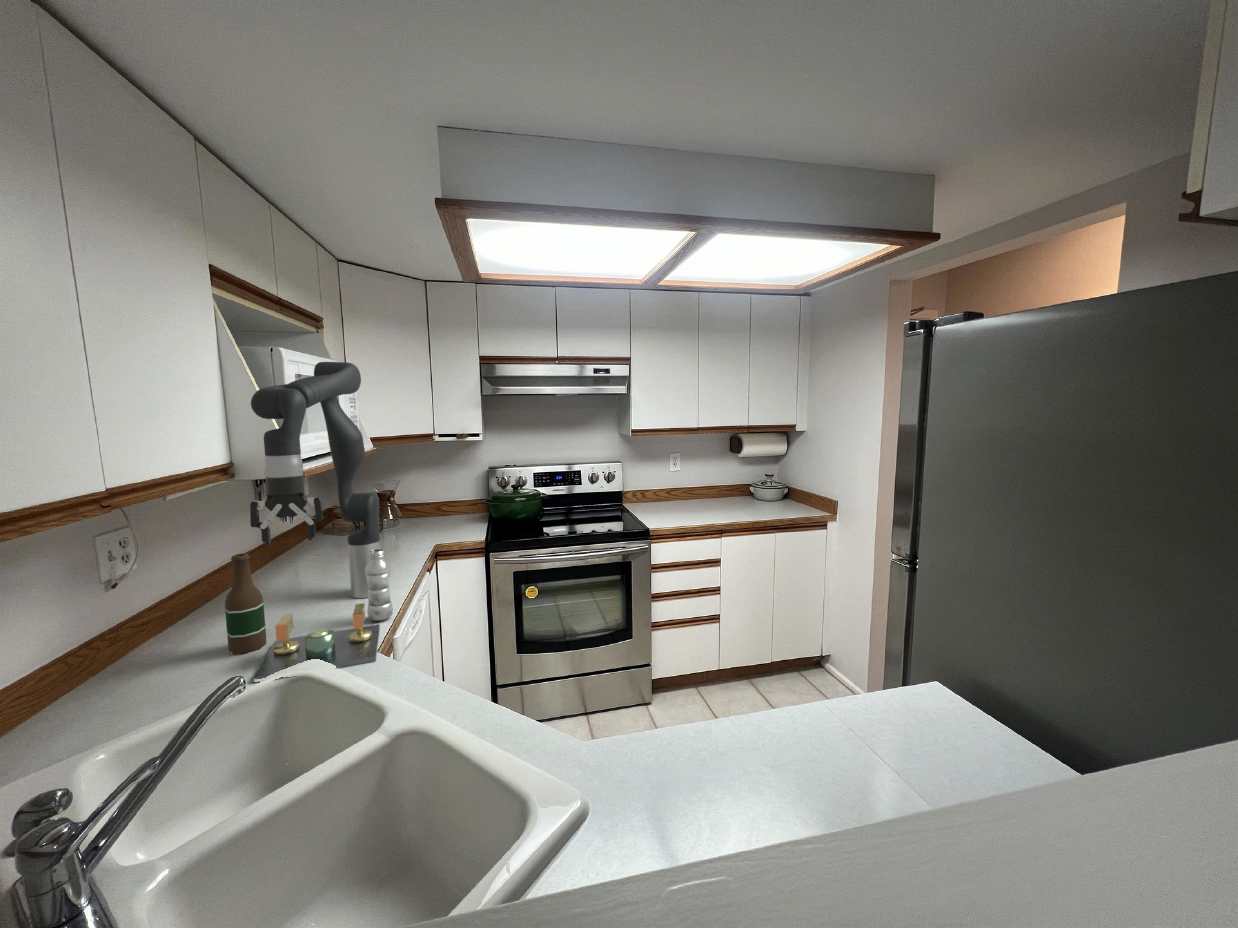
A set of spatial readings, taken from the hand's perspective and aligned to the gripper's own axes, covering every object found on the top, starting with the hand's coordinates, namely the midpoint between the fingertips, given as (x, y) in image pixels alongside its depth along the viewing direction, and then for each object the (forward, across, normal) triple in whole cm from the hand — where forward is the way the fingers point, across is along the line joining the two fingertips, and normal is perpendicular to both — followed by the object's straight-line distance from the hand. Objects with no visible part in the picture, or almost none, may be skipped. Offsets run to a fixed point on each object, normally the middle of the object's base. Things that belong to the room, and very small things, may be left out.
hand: (289, 541), depth 120 cm
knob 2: (+27, -14, 0) cm, 30 cm away
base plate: (+28, -6, +1) cm, 29 cm away
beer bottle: (+28, +12, -10) cm, 33 cm away
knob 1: (+27, +2, -1) cm, 27 cm away
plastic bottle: (+28, -18, -15) cm, 37 cm away
